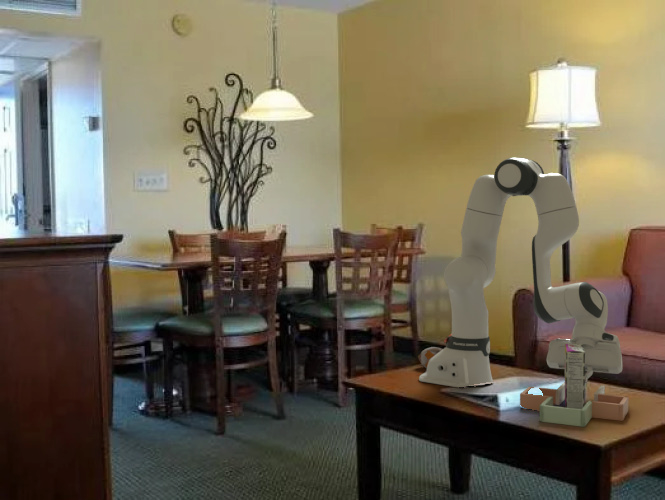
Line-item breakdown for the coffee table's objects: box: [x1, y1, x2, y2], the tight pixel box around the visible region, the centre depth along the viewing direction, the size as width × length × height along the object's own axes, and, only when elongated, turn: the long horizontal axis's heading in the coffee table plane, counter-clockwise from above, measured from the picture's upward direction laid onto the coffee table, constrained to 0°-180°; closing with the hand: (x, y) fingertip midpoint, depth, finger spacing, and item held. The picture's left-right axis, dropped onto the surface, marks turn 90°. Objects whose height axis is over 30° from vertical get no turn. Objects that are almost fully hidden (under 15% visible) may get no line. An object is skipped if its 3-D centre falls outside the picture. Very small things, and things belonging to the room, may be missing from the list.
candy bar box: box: [564, 344, 586, 409], centre depth 212 cm, size 11×5×16 cm, turn 165°
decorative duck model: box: [417, 346, 444, 369], centre depth 264 cm, size 15×8×15 cm
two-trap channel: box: [519, 381, 629, 428], centre depth 210 cm, size 26×30×4 cm
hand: (580, 381), depth 218 cm, fingers closed
